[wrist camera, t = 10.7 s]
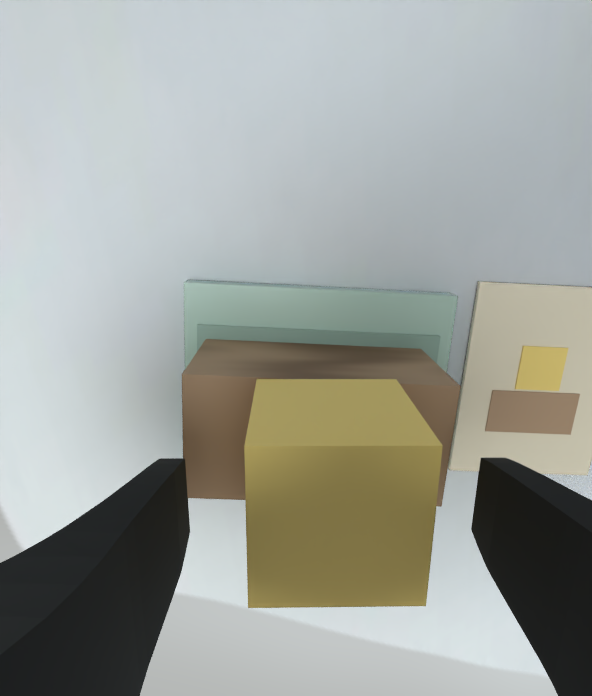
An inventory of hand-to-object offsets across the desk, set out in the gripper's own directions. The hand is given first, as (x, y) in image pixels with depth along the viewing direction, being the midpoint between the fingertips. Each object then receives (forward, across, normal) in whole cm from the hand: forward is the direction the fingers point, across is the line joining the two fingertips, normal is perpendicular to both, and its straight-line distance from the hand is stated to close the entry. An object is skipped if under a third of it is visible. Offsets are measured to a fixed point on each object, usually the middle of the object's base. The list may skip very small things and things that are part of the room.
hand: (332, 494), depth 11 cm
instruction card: (+8, -9, 0) cm, 12 cm away
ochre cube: (+3, 0, 0) cm, 3 cm away
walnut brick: (+7, 0, 0) cm, 7 cm away
